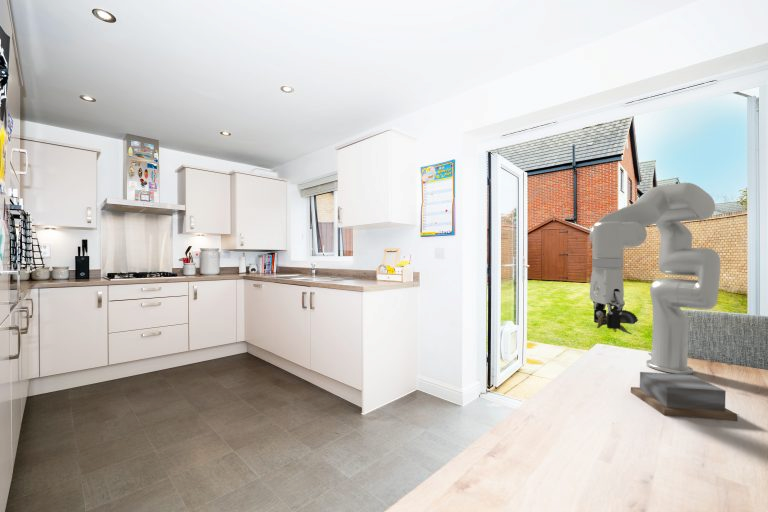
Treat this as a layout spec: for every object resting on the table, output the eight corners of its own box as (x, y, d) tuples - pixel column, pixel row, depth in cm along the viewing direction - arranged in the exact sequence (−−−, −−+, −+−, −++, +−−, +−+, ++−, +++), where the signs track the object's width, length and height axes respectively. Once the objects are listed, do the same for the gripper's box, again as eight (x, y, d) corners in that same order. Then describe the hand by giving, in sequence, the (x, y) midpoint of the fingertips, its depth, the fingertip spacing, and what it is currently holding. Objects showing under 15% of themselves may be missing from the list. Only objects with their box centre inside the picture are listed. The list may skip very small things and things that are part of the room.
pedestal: (630, 392, 97) (631, 369, 97) (692, 396, 95) (692, 373, 95) (664, 415, 83) (664, 389, 83) (737, 420, 81) (738, 393, 81)
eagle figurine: (606, 327, 93) (642, 327, 92) (598, 304, 97) (632, 303, 96) (596, 338, 99) (630, 338, 98) (589, 316, 103) (622, 315, 102)
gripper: (580, 263, 107) (579, 319, 107) (609, 265, 90) (608, 332, 90) (605, 263, 106) (605, 319, 106) (640, 265, 89) (638, 333, 89)
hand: (606, 325), depth 98 cm, fingers closed on eagle figurine, 6 cm apart
